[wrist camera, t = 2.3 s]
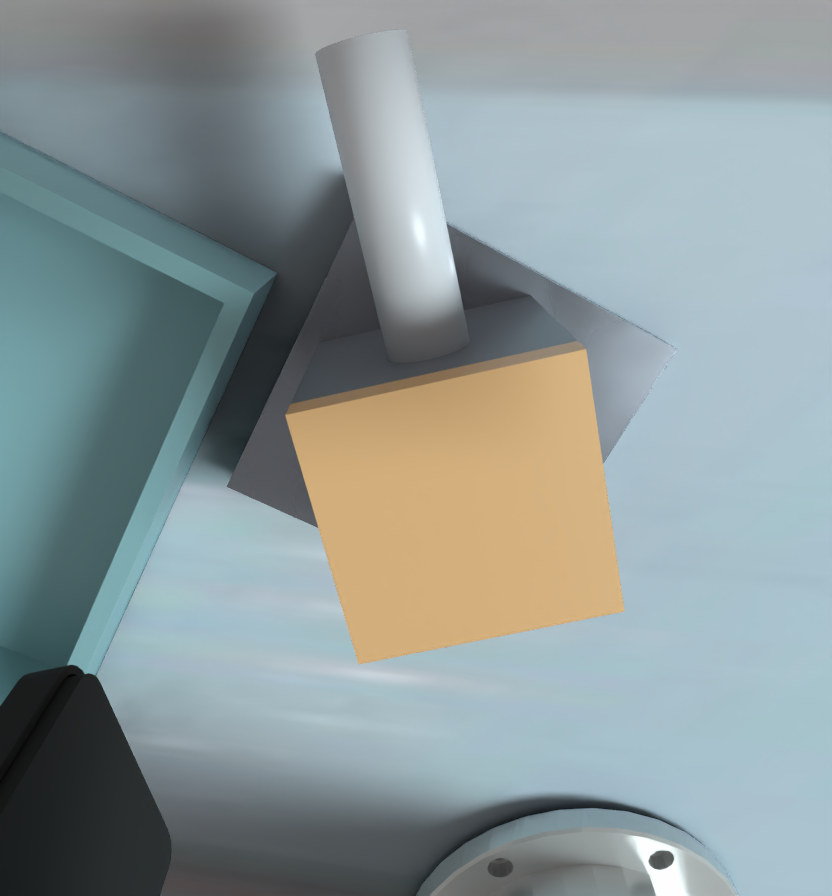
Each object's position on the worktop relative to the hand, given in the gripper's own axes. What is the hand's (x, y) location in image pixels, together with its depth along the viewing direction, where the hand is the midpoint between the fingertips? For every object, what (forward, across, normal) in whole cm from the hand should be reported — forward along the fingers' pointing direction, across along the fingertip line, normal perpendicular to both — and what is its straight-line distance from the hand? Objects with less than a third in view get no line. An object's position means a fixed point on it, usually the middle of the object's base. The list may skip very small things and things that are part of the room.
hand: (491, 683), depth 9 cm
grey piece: (+13, 0, +1) cm, 13 cm away
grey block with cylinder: (+12, 0, -2) cm, 12 cm away
